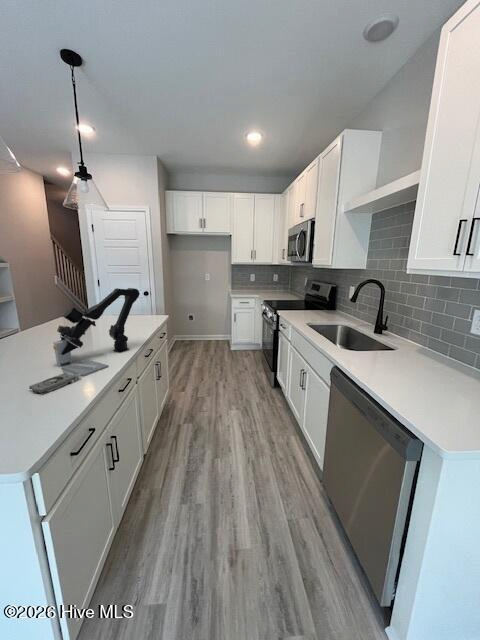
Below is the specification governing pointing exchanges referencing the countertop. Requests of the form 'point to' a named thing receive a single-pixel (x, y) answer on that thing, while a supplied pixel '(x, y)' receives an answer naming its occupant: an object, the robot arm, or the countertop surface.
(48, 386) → the graphics card
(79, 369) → the grey mounting plate
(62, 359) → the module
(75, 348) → the robot arm
